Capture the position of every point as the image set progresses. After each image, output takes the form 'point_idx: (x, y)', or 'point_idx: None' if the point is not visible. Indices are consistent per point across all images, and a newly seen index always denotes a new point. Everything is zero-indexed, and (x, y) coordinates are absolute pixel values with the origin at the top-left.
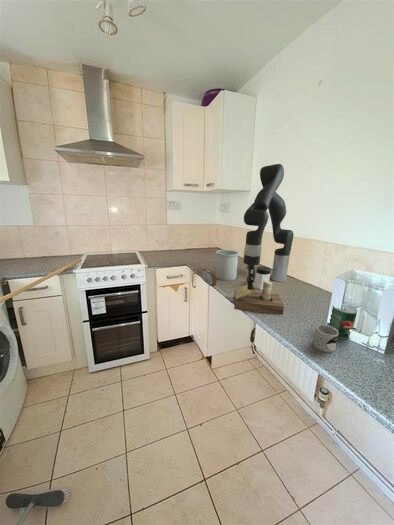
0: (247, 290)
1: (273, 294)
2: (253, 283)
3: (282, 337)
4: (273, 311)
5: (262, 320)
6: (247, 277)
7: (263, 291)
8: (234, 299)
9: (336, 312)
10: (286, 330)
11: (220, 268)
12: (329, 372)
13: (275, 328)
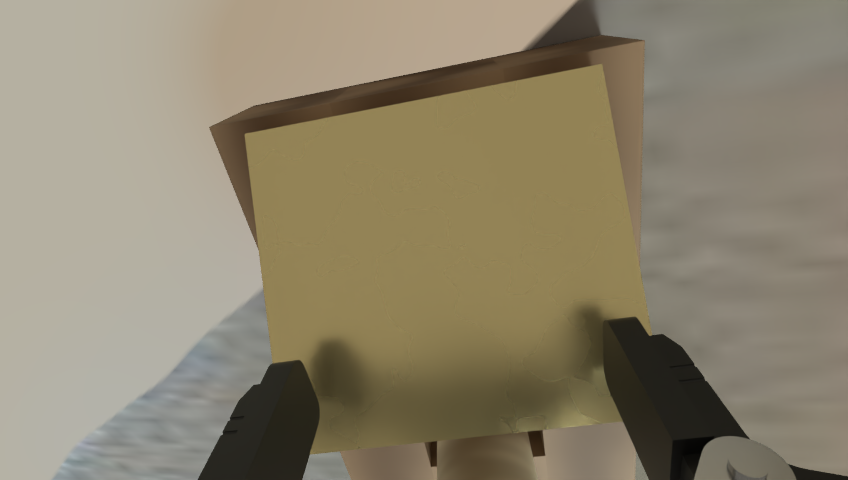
0: (386, 316)
1: (610, 472)
2: (602, 417)
3: (81, 448)
4: None
5: (204, 353)
6: (654, 418)
7: (453, 476)
8: (431, 74)
9: None
10: (174, 466)
11: None
12: None
13: (153, 421)
